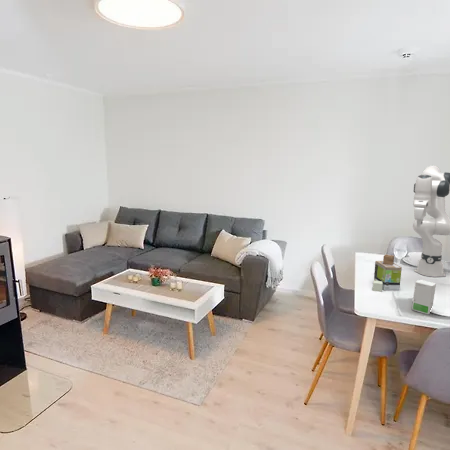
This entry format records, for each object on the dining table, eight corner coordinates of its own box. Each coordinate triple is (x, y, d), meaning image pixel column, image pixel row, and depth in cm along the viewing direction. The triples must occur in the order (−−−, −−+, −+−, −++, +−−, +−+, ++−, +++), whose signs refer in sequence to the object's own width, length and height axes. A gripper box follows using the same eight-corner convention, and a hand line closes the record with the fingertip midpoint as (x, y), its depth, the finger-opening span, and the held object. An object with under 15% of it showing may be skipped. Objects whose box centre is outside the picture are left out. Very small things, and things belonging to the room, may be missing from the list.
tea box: (400, 290, 205) (402, 267, 202) (383, 290, 205) (385, 267, 202) (388, 282, 220) (390, 260, 217) (373, 282, 220) (374, 260, 217)
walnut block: (384, 262, 213) (385, 254, 212) (393, 263, 210) (394, 255, 209) (383, 263, 209) (383, 256, 208) (391, 265, 206) (392, 257, 205)
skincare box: (411, 310, 177) (414, 281, 174) (415, 306, 182) (418, 278, 179) (429, 315, 171) (432, 285, 169) (433, 311, 176) (436, 282, 173)
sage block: (372, 288, 209) (373, 280, 208) (381, 289, 207) (382, 281, 207) (372, 290, 205) (373, 282, 204) (382, 291, 203) (382, 284, 202)
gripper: (418, 200, 212) (416, 222, 214) (413, 203, 196) (411, 227, 198) (430, 201, 208) (427, 223, 211) (425, 204, 192) (423, 228, 194)
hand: (419, 225), depth 204 cm, fingers open, 8 cm apart
